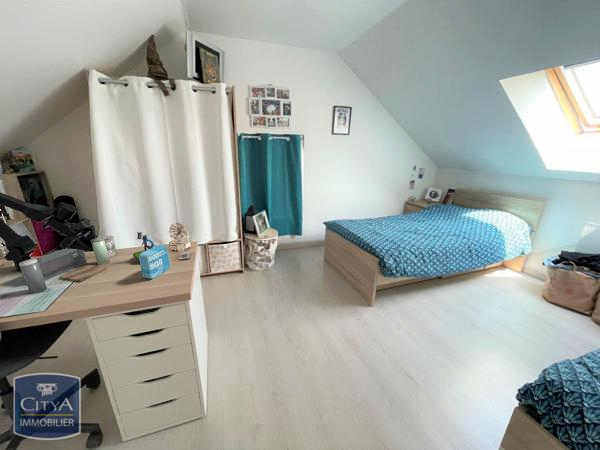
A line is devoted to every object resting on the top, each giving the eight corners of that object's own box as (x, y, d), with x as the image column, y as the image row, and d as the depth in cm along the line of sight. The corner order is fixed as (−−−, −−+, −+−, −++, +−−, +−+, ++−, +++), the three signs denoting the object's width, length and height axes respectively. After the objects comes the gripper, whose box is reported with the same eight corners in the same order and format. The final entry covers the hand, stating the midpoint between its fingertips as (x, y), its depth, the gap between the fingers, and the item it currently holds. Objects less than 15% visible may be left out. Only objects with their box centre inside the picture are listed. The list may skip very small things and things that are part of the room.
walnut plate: (59, 278, 110) (59, 276, 110) (87, 266, 121) (86, 264, 121) (80, 282, 108) (80, 280, 107) (106, 269, 119) (106, 267, 118)
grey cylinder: (26, 292, 100) (15, 263, 96) (41, 286, 104) (31, 258, 100) (35, 294, 99) (24, 265, 94) (50, 287, 103) (40, 259, 99)
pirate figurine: (165, 252, 138) (161, 226, 134) (161, 261, 127) (156, 234, 122) (137, 255, 134) (131, 229, 129) (130, 265, 123) (124, 237, 118)
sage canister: (94, 264, 123) (88, 240, 119) (104, 260, 128) (98, 236, 124) (102, 265, 122) (96, 241, 118) (112, 261, 127) (106, 237, 123)
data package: (151, 280, 110) (146, 255, 106) (142, 279, 111) (137, 254, 107) (170, 267, 121) (166, 245, 117) (162, 266, 122) (158, 244, 118)
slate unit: (25, 280, 108) (18, 264, 106) (74, 260, 127) (69, 246, 124) (40, 283, 106) (34, 266, 104) (87, 262, 125) (83, 248, 122)
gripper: (59, 220, 107) (95, 242, 113) (85, 209, 124) (115, 228, 130) (44, 238, 108) (80, 259, 114) (72, 225, 125) (102, 243, 131)
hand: (95, 246), depth 122 cm, fingers open, 9 cm apart
